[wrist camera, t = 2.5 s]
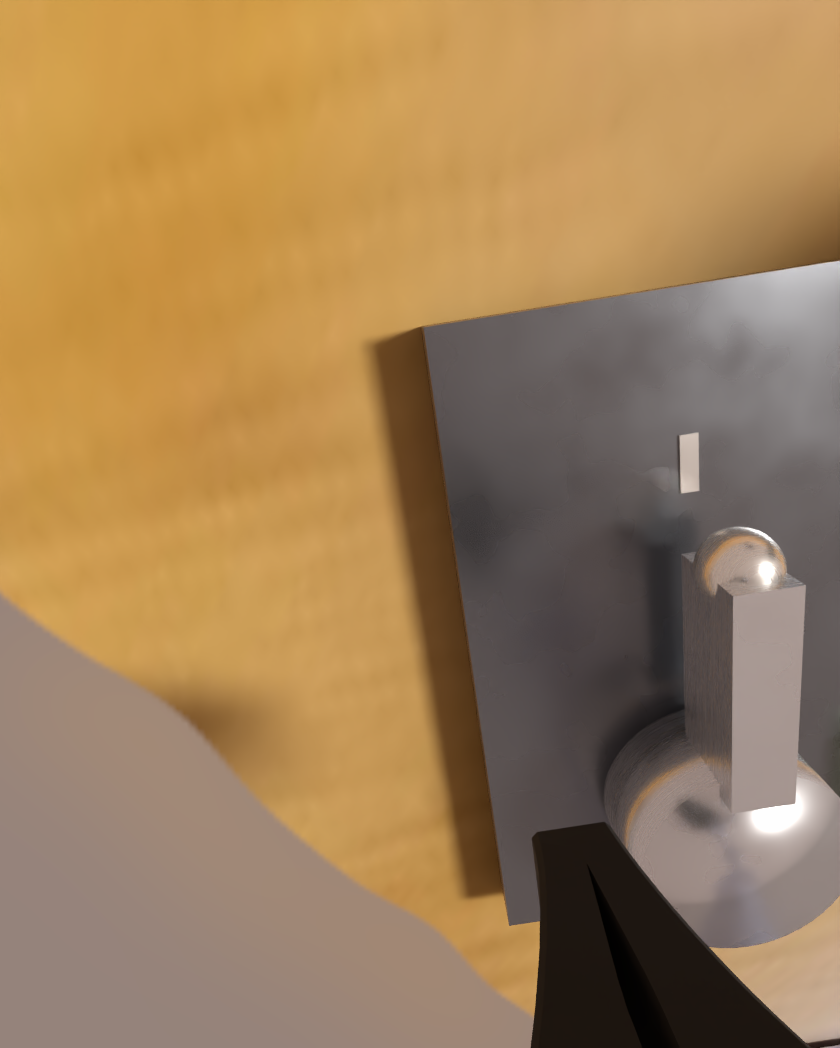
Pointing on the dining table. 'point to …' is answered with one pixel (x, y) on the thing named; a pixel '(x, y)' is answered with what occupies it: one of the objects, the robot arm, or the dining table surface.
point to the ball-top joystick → (732, 759)
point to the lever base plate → (628, 517)
